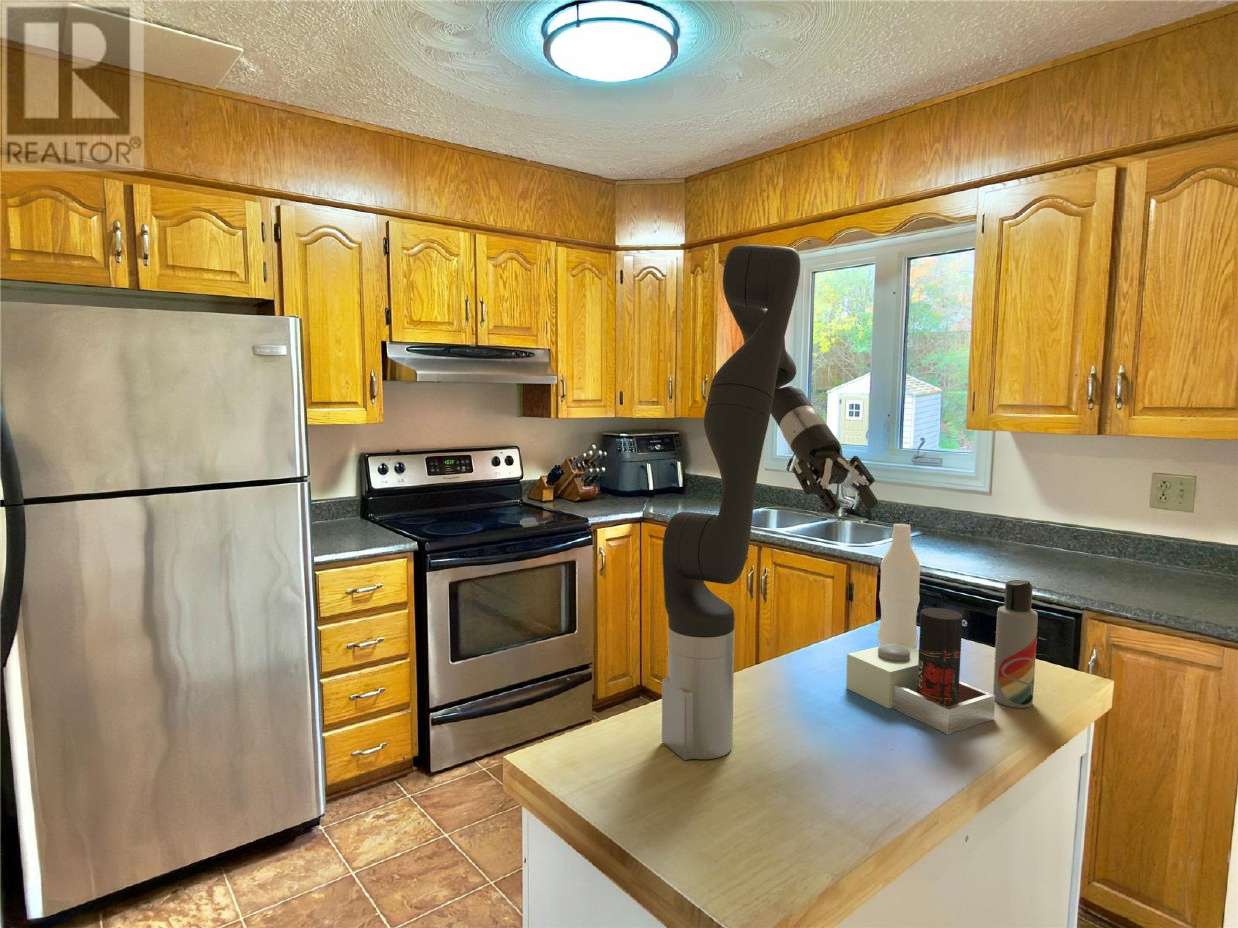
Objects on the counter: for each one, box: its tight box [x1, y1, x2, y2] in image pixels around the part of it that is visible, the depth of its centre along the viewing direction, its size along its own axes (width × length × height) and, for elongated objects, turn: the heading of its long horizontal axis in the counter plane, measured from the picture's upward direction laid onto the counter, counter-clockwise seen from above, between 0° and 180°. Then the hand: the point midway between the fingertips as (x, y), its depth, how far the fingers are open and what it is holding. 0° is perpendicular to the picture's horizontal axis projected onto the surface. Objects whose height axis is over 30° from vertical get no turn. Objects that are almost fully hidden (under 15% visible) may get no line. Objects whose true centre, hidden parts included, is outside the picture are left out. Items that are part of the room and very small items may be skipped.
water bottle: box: [877, 523, 922, 650], centre depth 136 cm, size 7×7×25 cm
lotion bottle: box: [992, 579, 1039, 709], centre depth 115 cm, size 6×6×20 cm
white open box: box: [891, 680, 996, 735], centre depth 111 cm, size 11×10×4 cm
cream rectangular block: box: [845, 642, 919, 709], centre depth 120 cm, size 12×9×7 cm
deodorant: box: [917, 607, 964, 706], centre depth 111 cm, size 6×6×15 cm
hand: (855, 509), depth 119 cm, fingers open, 8 cm apart
